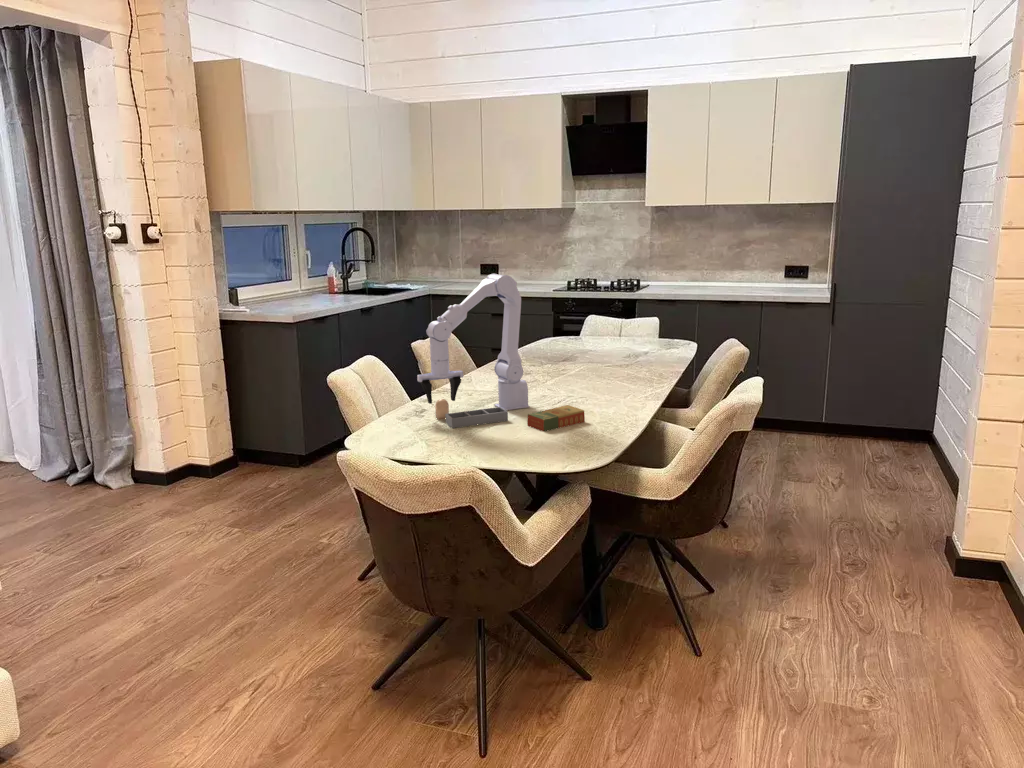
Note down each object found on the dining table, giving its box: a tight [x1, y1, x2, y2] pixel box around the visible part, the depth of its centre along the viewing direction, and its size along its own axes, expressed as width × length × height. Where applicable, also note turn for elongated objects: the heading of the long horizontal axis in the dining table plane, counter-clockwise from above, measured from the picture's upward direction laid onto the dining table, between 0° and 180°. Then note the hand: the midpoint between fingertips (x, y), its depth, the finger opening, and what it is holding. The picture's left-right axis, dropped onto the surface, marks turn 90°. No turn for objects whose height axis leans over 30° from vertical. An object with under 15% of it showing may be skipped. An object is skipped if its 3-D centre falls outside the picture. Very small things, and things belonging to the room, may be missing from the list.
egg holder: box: [445, 406, 509, 429], centre depth 231 cm, size 18×6×3 cm, turn 113°
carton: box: [526, 405, 586, 432], centre depth 227 cm, size 8×16×4 cm, turn 126°
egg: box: [434, 398, 450, 420], centre depth 237 cm, size 4×4×6 cm
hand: (441, 401), depth 237 cm, fingers open, 7 cm apart
